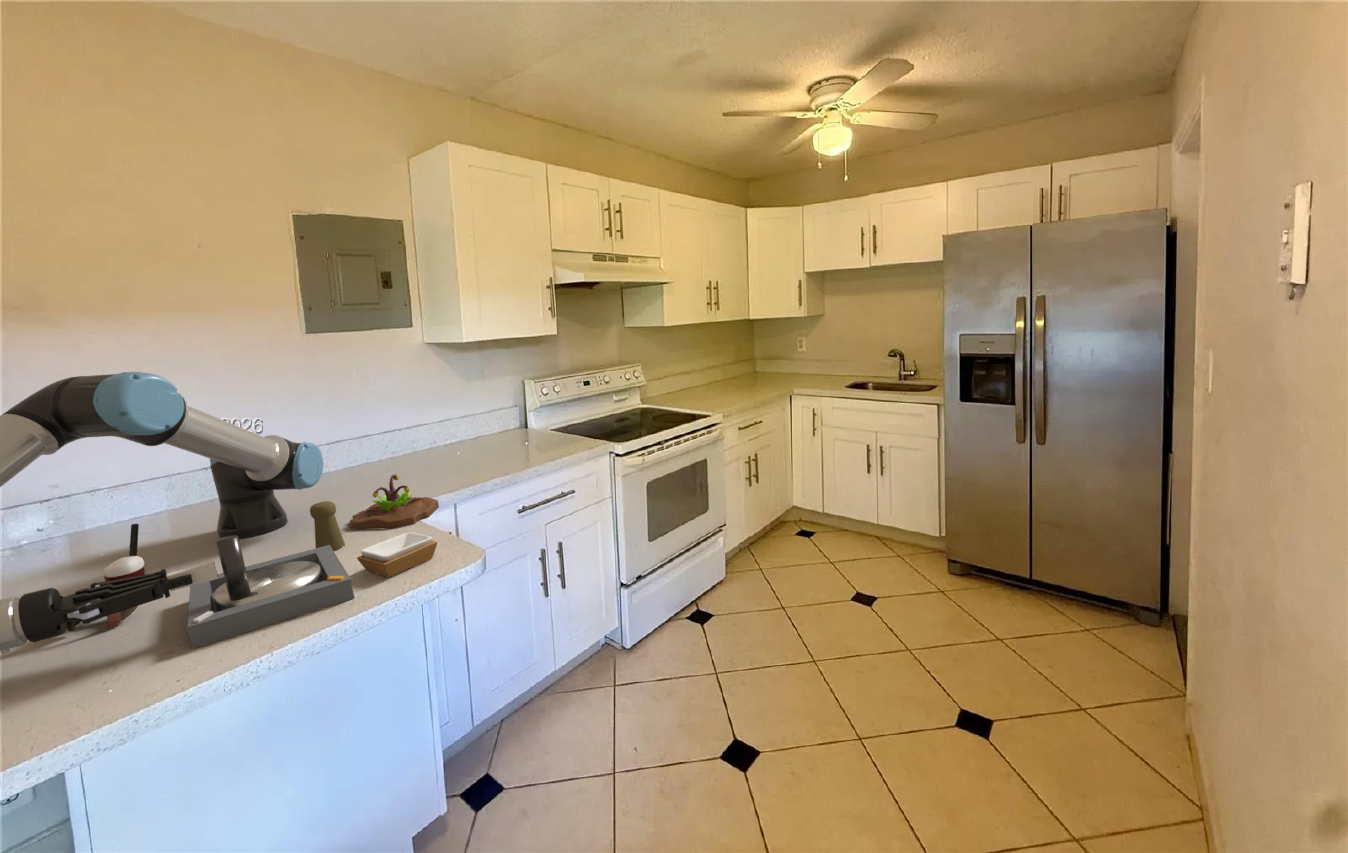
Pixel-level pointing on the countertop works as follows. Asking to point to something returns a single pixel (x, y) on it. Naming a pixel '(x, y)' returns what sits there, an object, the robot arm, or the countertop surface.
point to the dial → (257, 576)
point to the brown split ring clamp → (112, 619)
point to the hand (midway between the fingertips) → (216, 570)
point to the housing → (266, 600)
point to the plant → (394, 509)
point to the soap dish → (397, 554)
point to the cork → (326, 525)
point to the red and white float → (127, 561)
